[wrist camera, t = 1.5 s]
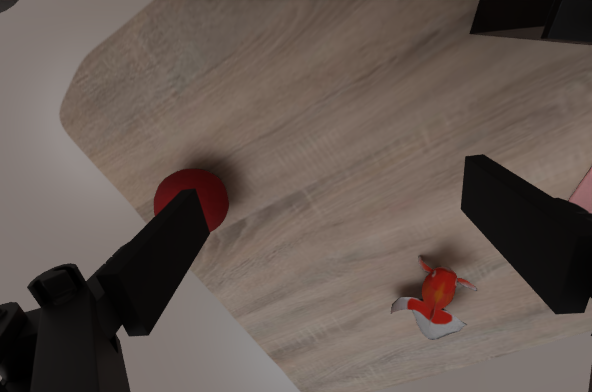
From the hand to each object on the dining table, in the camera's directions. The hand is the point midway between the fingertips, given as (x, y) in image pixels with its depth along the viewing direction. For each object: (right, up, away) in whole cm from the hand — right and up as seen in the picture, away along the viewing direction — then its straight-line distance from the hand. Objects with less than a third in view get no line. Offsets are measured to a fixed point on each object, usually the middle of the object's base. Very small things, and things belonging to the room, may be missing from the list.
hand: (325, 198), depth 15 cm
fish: (+19, -14, +33) cm, 41 cm away
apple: (-15, +1, +28) cm, 31 cm away
